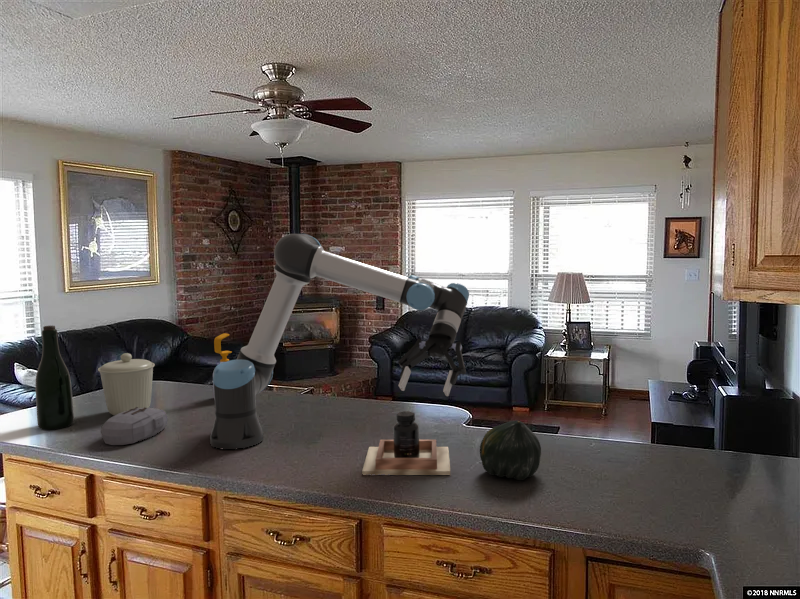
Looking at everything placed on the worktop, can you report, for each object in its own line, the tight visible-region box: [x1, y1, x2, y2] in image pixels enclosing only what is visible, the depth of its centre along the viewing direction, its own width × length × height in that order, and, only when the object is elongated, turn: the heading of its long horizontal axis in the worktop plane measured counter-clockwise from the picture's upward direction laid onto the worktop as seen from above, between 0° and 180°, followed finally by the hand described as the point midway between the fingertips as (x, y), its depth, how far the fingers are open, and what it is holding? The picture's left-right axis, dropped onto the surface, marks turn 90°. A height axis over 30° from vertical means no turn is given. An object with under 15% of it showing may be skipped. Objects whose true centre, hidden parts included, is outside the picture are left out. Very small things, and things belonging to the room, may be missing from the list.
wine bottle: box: [35, 325, 75, 431], centre depth 198 cm, size 10×10×33 cm
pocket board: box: [361, 439, 451, 476], centre depth 161 cm, size 22×18×4 cm
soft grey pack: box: [100, 407, 169, 446], centre depth 187 cm, size 15×8×20 cm
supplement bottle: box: [392, 410, 420, 458], centre depth 161 cm, size 7×7×12 cm
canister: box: [97, 352, 156, 416], centre depth 213 cm, size 18×18×21 cm
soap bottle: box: [212, 332, 233, 391], centre depth 230 cm, size 9×9×25 cm
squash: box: [479, 420, 542, 481], centre depth 151 cm, size 14×15×15 cm
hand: (422, 390), depth 168 cm, fingers open, 13 cm apart
